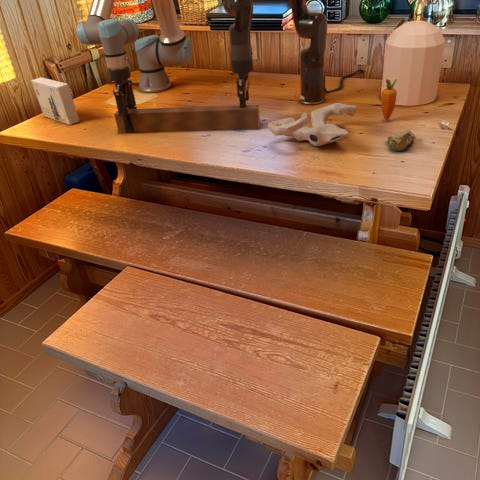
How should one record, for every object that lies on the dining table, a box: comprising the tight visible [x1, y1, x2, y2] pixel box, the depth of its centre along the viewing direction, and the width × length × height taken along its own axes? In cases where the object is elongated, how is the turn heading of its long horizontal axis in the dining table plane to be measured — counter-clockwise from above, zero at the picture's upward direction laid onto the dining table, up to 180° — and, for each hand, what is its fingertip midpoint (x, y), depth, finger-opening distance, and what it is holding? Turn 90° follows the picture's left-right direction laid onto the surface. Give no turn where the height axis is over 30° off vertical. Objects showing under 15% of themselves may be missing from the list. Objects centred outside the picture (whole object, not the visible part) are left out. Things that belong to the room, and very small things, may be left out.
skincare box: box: [30, 76, 81, 126], centre depth 193 cm, size 21×5×16 cm, turn 49°
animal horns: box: [267, 102, 358, 147], centre depth 155 cm, size 28×26×12 cm
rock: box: [387, 129, 416, 152], centre depth 146 cm, size 11×6×10 cm
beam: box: [114, 104, 261, 134], centre depth 174 cm, size 54×5×8 cm, turn 82°
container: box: [380, 20, 446, 107], centre depth 176 cm, size 21×21×28 cm
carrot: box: [380, 79, 397, 122], centre depth 161 cm, size 5×5×15 cm
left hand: (132, 129), depth 179 cm, fingers closed on beam, 5 cm apart
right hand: (244, 104), depth 167 cm, fingers open, 8 cm apart
